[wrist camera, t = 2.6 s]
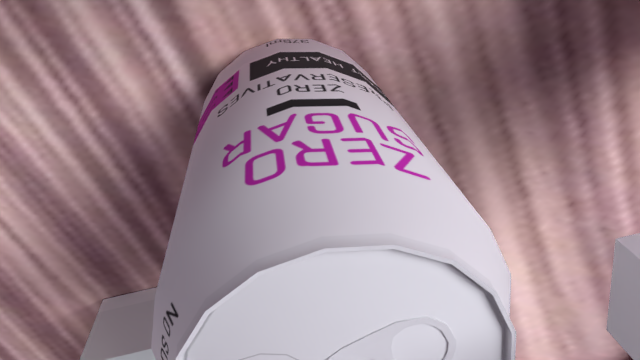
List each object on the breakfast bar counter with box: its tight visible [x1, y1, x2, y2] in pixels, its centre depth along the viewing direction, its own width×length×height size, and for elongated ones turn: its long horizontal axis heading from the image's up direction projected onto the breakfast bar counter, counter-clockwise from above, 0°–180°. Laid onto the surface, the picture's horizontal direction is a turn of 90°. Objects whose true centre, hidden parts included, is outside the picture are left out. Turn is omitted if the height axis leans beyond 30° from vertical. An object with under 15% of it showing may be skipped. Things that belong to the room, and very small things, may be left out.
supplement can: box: [151, 39, 516, 360], centre depth 17 cm, size 8×8×15 cm
